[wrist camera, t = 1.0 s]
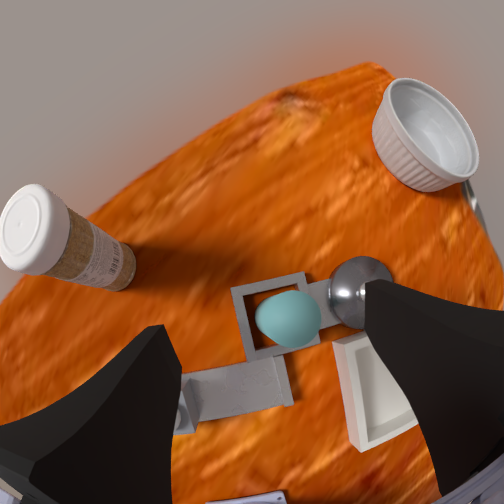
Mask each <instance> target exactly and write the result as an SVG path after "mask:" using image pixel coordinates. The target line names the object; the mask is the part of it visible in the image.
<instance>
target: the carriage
mask: <svg viewBox="0 0 504 504" xmlns="http://www.w3.org/2000/svg"><path fill="white" fill-rule="evenodd" d="M199 418H200V415H199V412H198V409H197V405H196V402H195V399H194V395H193V392H192V388H191V385H190V381H189V379H187V380H181V393H180V399H179V404H178V410H177V416H176V421H175V427H174V433H173V435H180V434H190V433H195V432H196V428H197V425H198V421H199Z"/></svg>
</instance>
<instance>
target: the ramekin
mask: <svg viewBox="0 0 504 504" xmlns="http://www.w3.org/2000/svg"><path fill="white" fill-rule="evenodd" d="M372 137H373V141H374V145H375V148H376V151H377V153H378V155H379V157H380V159H381V160H382V162H383V164H384V165H385V166H386V168H387V169H388V170H389V171H390V172H391V173H392V174H393V175H394V176H395V177H396V178H397V179H398V180H399V181H401V182H402V183H404V184H405V185H407V186H409V187H411V188H413V189H416V190H418V191H422V192H434V191H438V190H441V189H443V188H446V187H448V186H450V185H452V184H454V183H457V182H463V181H465V180H467V179H469V178H470V177H471V176H472V175H474V173H475V172H476V170H477V168H478V165H479V152H478V147H477V143H476V140H475V138H474V135H473V133H472V131H471V129H470V127H469V125H468V124H467V122H466V120H465V119H464V117H463V116H462V115H461V113H460V112H459V111H458V110H457V109H456V107H455V106H454V105H453V104H452V103H451V102H450V101H449V100H448V99H447V98H446V97H445V96H443V95H442V94H441V93H440V92H438V91H437V90H435V89H434V88H432V87H431V86H429V85H427V84H425V83H423V82H421V81H418V80H415V79H411V78H399V79H396V80H394V81H393V82H392V83H391V84H390V85H389V86H388V88H387V89H386V90H385V92H384V96H383V101H382V103H381V105H380V107H379V109H378V111H377V113H376V116H375V118H374V121H373V125H372Z"/></svg>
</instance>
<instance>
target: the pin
mask: <svg viewBox="0 0 504 504" xmlns="http://www.w3.org/2000/svg"><path fill="white" fill-rule="evenodd" d="M254 319H255V324H256V326H257V327H258V329H259V330H260V331H261V332H262V333H264V334H265V335H266V336H268V337H269V338H271V339H272V340H273V341H275V342H276V343H278V344H279V345H281V346H284V347H288V348H297V347H301V346H304V345H306V344H308V343H309V342H310V341H312V340H313V339H314V337H315V336H316V335H317V333H318V331H319V329H320V326H321V311H320V308H319V306H318V304H317V302H316V301H315V300H314V299H313V298H312V297H311V296H310V295H308V294H306V293H304V292H301V291H295V290H293V291H286V292H283V293H280V294H277V295H275V296H272V297H269V298H266V299H264V300H263V301H261V302H260V303H259V305H258V306H257V308H256V310H255V314H254Z"/></svg>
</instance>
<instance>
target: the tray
mask: <svg viewBox="0 0 504 504" xmlns="http://www.w3.org/2000/svg"><path fill="white" fill-rule="evenodd" d="M332 344H333V349H334V354H335V359H336V364H337V369H338V375H339V380H340V386H341V391H342V397H343V403H344V409H345V415H346V421H347V428H348V434H349V441H350V442H351V443H352V444H353V445H354V446H355V447H356V448H357V449H358V450H359V451H360V452H364V451H366V450H368V449H370V448H373V447H375V446H377V445H379V444H381V443H383V442H385V441H387V440H389V439H391V438H393V437H395V436H397V435H399V434H401V433H403V432H404V431H406V430H408V429H410V428H412V427H413V426H415V425H417V424H418V421H417V418H416V416H415V414H414V412H413V410H412V408H411V406H410V404H409V402H408V400H407V398H406V396H405V395H404V393H403V391H402V390H401V388H400V387H399V385H398V384H397V382H396V381H395V379H394V378H393V376H392V375H391V373H390V372H389V370H388V369H387V368H386V366H385V365H384V363H383V362H382V360H381V359H380V357H379V356H378V354H377V353H376V351H375V350H374V348H373V346H372V344H371V342H370V340H369V338H368V336H367V334H366V332H365V330H364V331H361V332H358V333H356V334H353V335H350V336H347V337H344V338H341V339H338V340H335V341H332Z"/></svg>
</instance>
